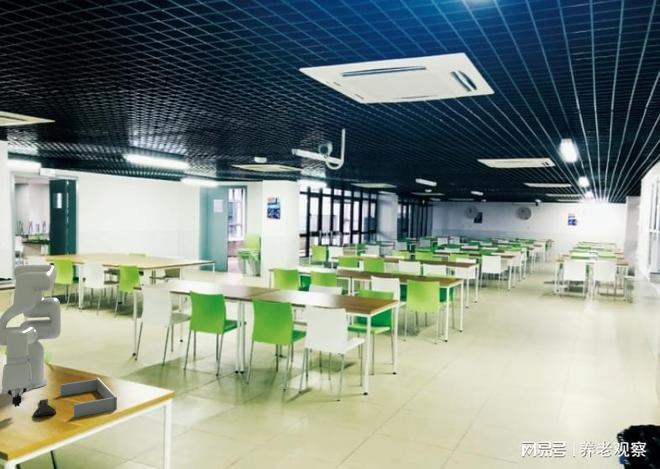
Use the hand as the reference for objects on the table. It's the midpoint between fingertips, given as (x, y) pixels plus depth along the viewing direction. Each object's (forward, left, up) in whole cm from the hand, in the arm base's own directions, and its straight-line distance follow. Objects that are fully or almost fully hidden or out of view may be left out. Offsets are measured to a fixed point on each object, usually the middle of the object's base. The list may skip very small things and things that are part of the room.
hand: (16, 405), depth 205 cm
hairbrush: (-1, +10, -5) cm, 11 cm away
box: (-1, +27, -4) cm, 27 cm away
